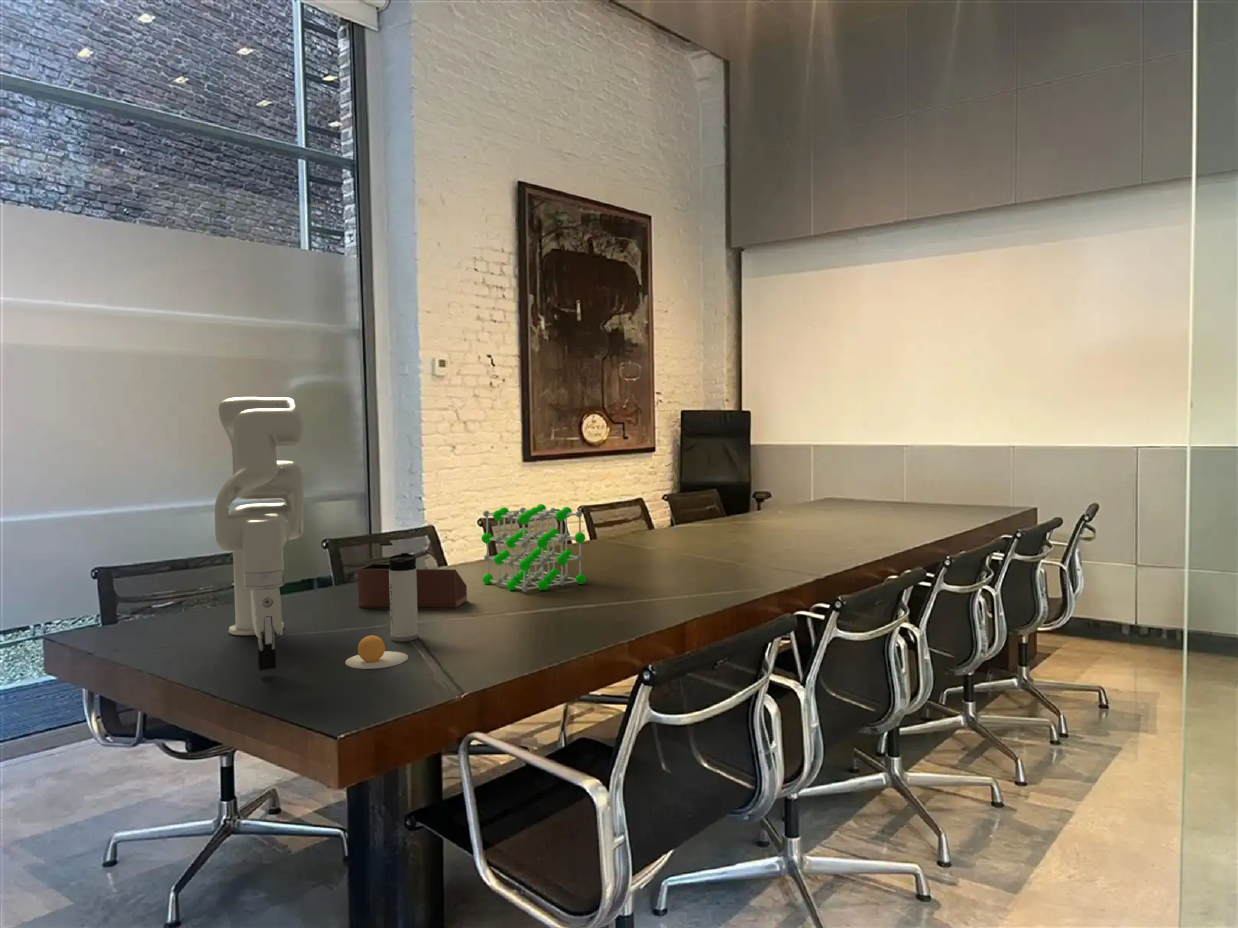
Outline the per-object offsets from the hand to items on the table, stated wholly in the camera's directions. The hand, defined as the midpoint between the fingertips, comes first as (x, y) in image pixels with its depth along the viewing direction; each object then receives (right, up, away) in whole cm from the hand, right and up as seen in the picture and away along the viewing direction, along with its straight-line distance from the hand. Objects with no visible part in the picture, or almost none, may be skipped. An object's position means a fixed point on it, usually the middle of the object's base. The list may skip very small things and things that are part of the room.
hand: (267, 668), depth 175 cm
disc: (+19, -1, +10) cm, 22 cm away
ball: (+19, +2, +9) cm, 21 cm away
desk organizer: (+14, +1, +68) cm, 69 cm away
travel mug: (+21, 0, +29) cm, 36 cm away
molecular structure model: (+45, +3, +96) cm, 106 cm away
